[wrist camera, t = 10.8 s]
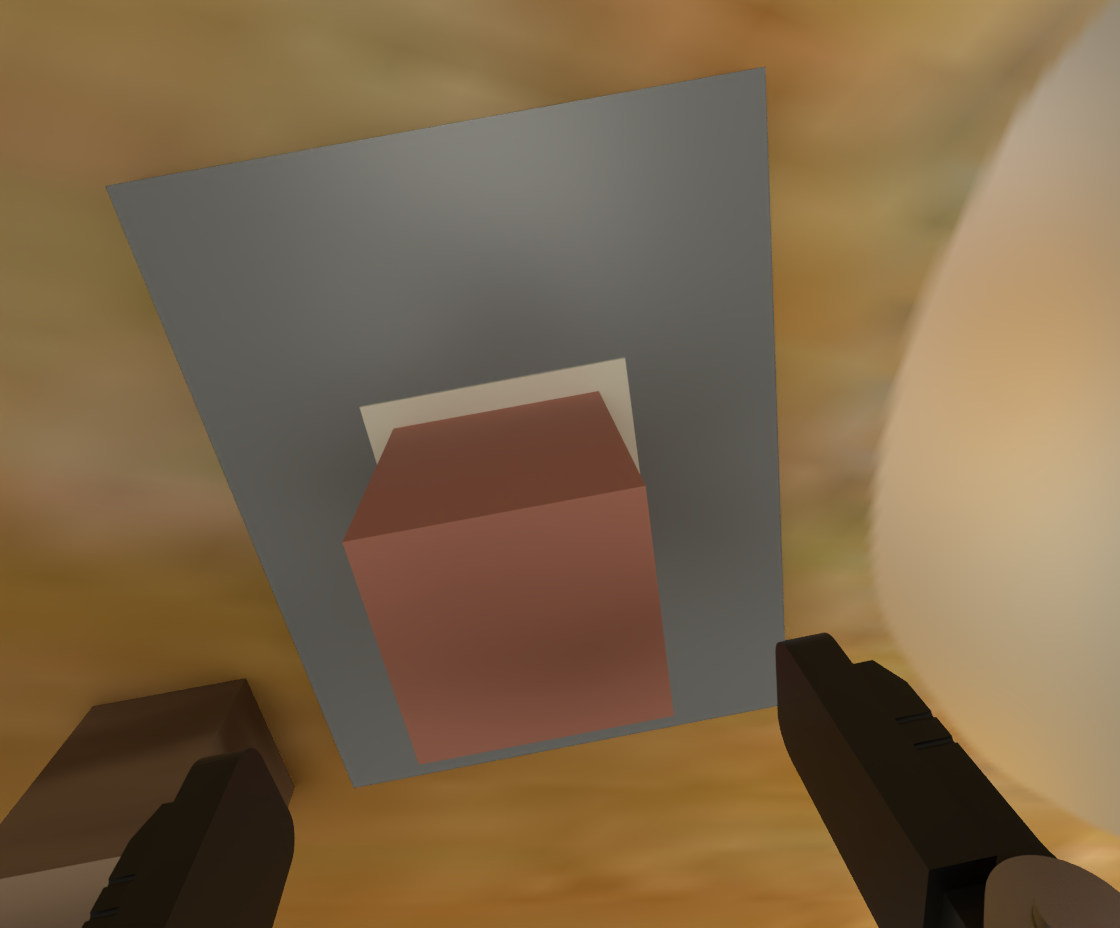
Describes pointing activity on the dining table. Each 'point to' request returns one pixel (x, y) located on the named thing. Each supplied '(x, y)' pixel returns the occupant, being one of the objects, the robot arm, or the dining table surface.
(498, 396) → the grey flat rectangular panel
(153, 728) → the walnut block
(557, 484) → the red block
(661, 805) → the dining table surface
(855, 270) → the dining table surface
